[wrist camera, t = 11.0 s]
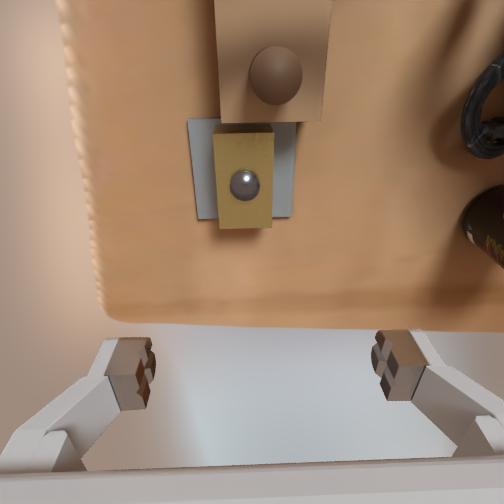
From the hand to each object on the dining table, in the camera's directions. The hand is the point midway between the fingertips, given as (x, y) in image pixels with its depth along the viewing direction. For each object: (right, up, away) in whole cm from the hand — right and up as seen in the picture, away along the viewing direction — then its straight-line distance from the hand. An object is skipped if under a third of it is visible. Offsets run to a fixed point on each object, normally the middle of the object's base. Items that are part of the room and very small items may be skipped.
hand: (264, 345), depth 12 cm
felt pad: (-1, +11, +18) cm, 21 cm away
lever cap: (-1, +11, +17) cm, 20 cm away
